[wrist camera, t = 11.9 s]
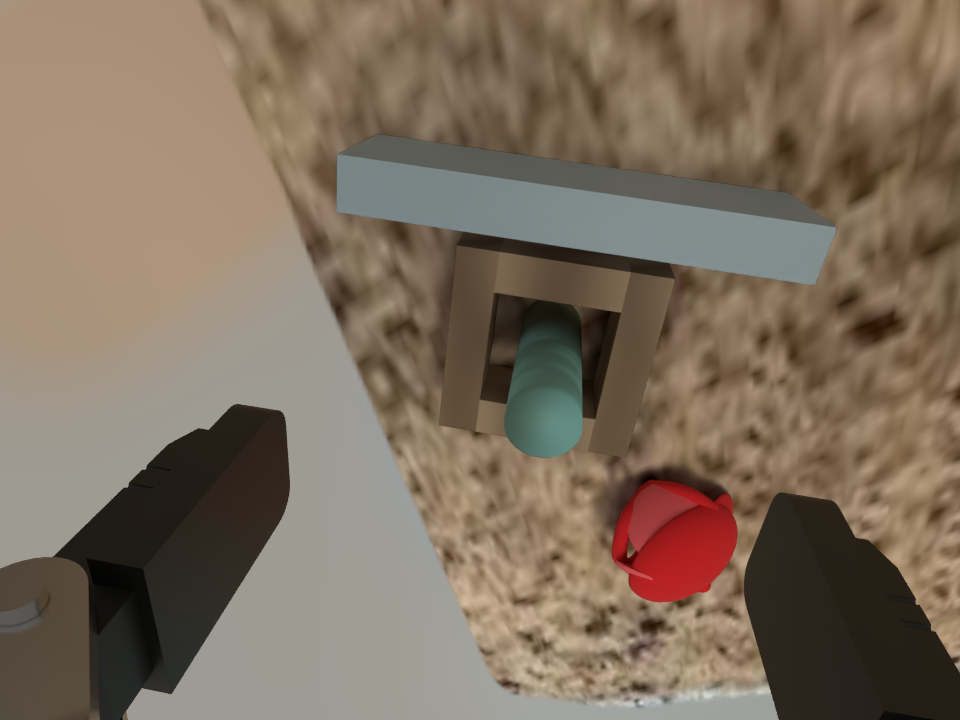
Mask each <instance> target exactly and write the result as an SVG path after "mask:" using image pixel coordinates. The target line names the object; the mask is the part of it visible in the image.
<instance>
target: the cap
mask: <svg viewBox="0 0 960 720" xmlns="http://www.w3.org/2000/svg"><path fill="white" fill-rule="evenodd" d="M732 513H733V502H732V498H731V496H730V495H729V494H727V493H724V494H722V495H720V496H719V497H718V498H717V499H716V500H715V501H714V502H713V501H712V500H711V499H709V498H708V497H707V496H705V495H704V494H702V493H701V492H699V491H697V490H695V489H693V488H691V487H689V486H686V485H683V484H679V483H676V482H670V481H655V480H648V481H647V482H646V483H645V484H643V485H641V486H639V488H638V490H637V492H636V493H635V494H634V495H633V497H632V498H631V499H630V501H629V502H628V503H627V505H626V506H625V508H624V509H623V511H622V513H621V515H620V517H619V520H618V522H617V525H616V529H615V533H614V537H613V543H612V558H613V560H614V562H615V563H616V564H617V565H618V566H619V567H620V568H621V569H622V570H623V571H625V572H626V573H628V574H629V585H630V588H631V589H632V590H633V592H634V593H636V594H637V595H638V596H640V597H642V598H644V599H646V600H649V601H653V602H671V601H676V600H680V599H683V598H686V597H688V596H691V595H693V594H695V593H697V592H702V593H704V592H707V591H709V589H710V587H711V582H712V581H713V580H714V579H715V578H716V577H717V576H718V575H719V574H720V573H721V572H722V571H723V569H724V568H725V567H726V565H727V564H728V562H729V561H730V559H731V557H732V555H733V552H734V550H735V547H736V542H737V525H736V521H735V519H734V517H733V515H732ZM629 539H630V542H631V544H632V545H633V547H634V548H635V550H636V551H635V552H634V554H633V555H632V556H631V557H629V558H627V547H628V541H629Z"/></svg>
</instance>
